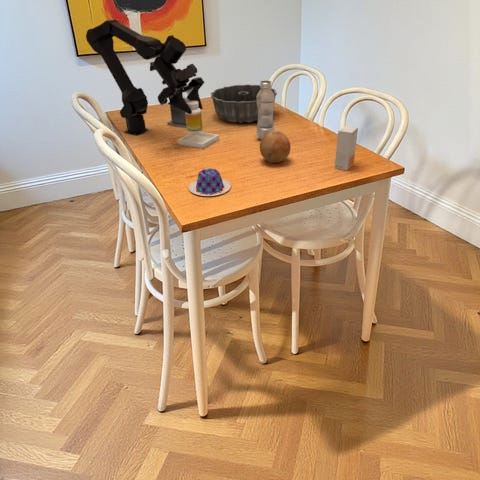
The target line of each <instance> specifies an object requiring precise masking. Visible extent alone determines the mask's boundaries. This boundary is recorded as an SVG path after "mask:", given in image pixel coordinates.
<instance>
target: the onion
mask: <svg viewBox="0 0 480 480" xmlns="http://www.w3.org/2000/svg"><path fill="white" fill-rule="evenodd" d="M259 152H260V155H261V156H262V158H263V159H265V160H266V161H268V162H270V163H273V164H276V163H281V162H283V161H284V160H286V159H287V158H288V157H289V156H290V153H291V141H290V140H289V137H288V136H287V135H286V134H285V133H284V132H281V131H279V130H274V131H270V132H267V133H266V134H265V135H264V136H263V138H262V140H260V143H259Z"/></svg>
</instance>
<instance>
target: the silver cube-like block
mask: <svg viewBox="0 0 480 480" xmlns="http://www.w3.org/2000/svg"><path fill="white" fill-rule="evenodd" d="M183 99H184V100H185V102H186V103H187V102H189V101H190V100H189V99H187V98H186V97H183ZM169 108H170V110H169V111H170V118H171V120H169V121H168V122H167V123H166V124H167V126H170V127H176V128H181V129H187V124H186V114H185V111H183V110H181V109H179V108H177V107H175V106H173V105H169Z"/></svg>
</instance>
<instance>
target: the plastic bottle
mask: <svg viewBox="0 0 480 480" xmlns="http://www.w3.org/2000/svg"><path fill="white" fill-rule="evenodd" d="M259 83H260V84H259V85H260V88H261V90H260V91H259V92H258V94H257V97H256V101H257V107H258V121H257V125H256V131H255V132H256V138H257V139H258V140H260V141H261V140H262V138H263V136H264V135H265V134H266V133H267V132H270V131H275V125H274V108H275V103H276V102H275V101H276V97H275V96H274V94H273V92H272V90H271V89H270V88H272V81H270V80H261V81H260V82H259ZM274 102H275V103H274Z"/></svg>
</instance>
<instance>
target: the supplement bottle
mask: <svg viewBox="0 0 480 480" xmlns="http://www.w3.org/2000/svg"><path fill="white" fill-rule="evenodd" d="M187 105H188V106H189V108H190V109H191V111H192V113H191V114H188V113H186V112H185V114H186V124H187V128H186V131H187V132H188V133H198V132H203V117H202V110H201V109H200V108H198V107H199V103H198V101H189V102H187Z"/></svg>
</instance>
